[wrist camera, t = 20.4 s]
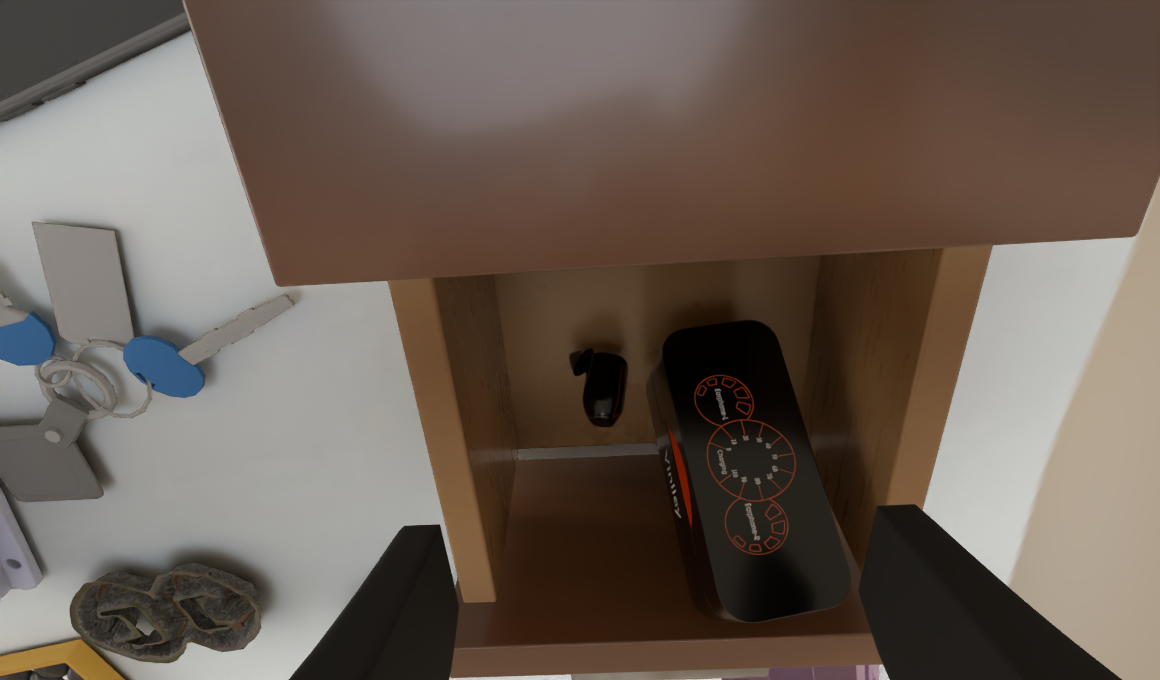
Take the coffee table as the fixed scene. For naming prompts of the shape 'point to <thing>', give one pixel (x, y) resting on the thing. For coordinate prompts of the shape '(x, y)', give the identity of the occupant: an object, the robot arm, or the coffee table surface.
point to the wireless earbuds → (733, 470)
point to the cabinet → (676, 128)
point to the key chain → (89, 311)
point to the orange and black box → (57, 664)
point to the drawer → (636, 482)
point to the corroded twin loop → (167, 612)
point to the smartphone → (74, 43)
